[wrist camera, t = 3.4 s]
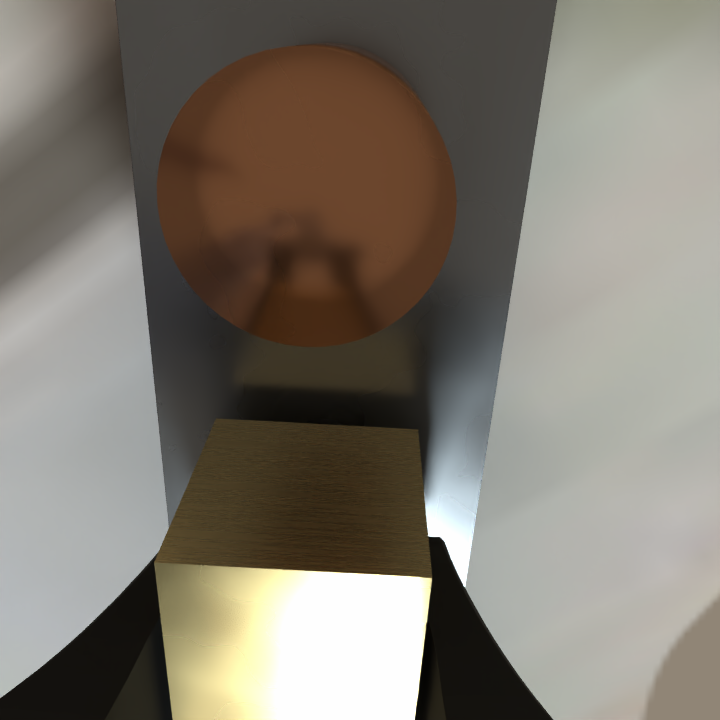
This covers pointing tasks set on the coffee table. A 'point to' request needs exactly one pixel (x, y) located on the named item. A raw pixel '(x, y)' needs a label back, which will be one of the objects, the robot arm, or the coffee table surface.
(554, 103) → the coffee table surface
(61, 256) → the coffee table surface
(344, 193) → the hand plane
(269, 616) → the lever cap
